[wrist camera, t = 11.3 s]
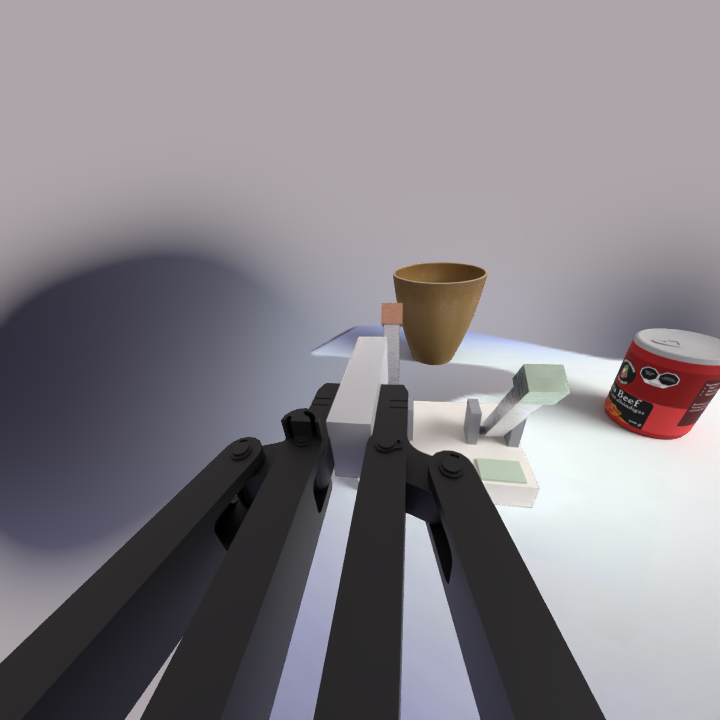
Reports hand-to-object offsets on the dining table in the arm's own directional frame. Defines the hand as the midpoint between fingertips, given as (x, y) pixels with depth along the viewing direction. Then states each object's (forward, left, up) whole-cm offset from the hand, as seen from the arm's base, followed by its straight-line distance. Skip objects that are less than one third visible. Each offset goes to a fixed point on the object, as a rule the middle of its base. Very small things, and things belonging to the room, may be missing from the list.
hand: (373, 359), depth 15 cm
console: (-5, -11, -20) cm, 23 cm away
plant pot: (-6, -35, -20) cm, 41 cm away
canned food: (-31, -19, -20) cm, 42 cm away
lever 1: (0, -11, -15) cm, 19 cm away
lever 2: (-11, -11, -16) cm, 22 cm away
